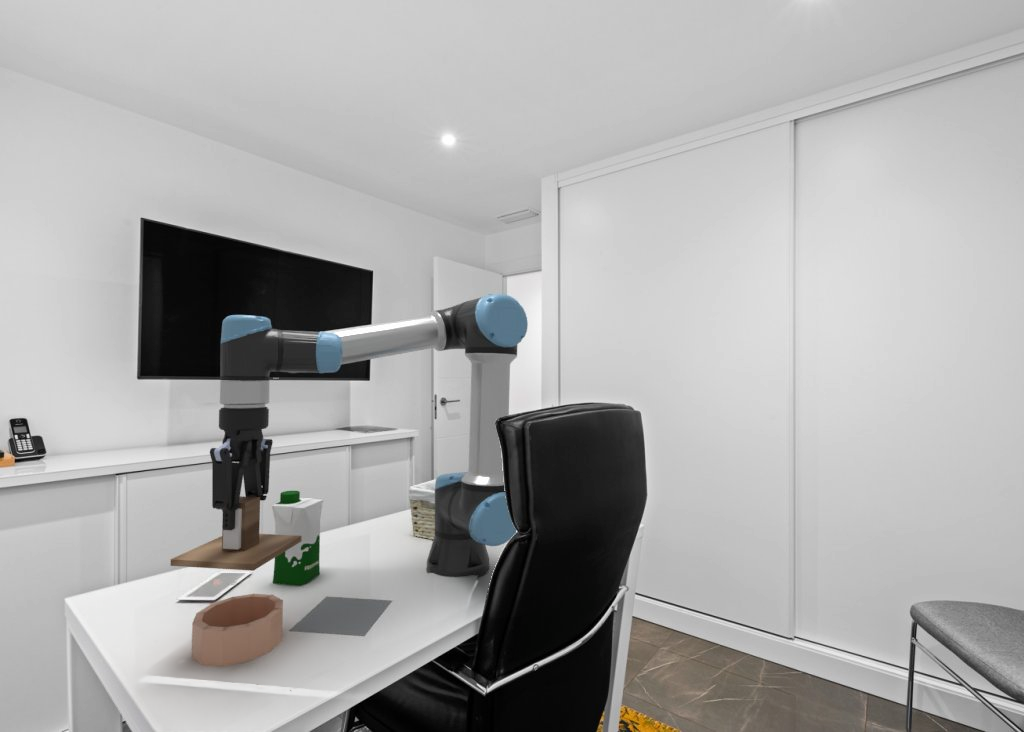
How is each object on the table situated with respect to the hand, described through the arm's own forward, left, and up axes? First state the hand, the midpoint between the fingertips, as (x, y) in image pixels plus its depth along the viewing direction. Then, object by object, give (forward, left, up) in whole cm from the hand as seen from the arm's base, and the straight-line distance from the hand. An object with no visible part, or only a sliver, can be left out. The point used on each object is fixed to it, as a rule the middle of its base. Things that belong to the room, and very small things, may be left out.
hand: (241, 543), depth 85 cm
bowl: (0, 0, -18) cm, 18 cm away
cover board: (0, 0, -2) cm, 2 cm away
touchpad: (+21, -22, -19) cm, 36 cm away
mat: (-13, -12, -18) cm, 25 cm away
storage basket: (-21, -70, -18) cm, 75 cm away
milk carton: (+5, -27, -18) cm, 33 cm away
